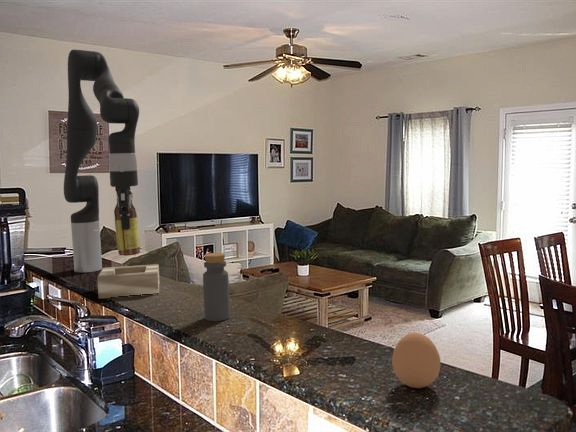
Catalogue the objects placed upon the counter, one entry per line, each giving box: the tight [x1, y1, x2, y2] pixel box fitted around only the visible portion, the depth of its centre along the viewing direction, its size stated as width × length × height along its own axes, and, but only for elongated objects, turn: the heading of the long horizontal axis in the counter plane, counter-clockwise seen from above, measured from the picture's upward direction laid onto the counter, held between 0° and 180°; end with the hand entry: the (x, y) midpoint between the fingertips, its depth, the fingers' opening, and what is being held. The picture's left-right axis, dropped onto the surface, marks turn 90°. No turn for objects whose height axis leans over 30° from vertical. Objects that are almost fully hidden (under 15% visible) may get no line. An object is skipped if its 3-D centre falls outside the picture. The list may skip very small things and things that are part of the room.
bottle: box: [202, 252, 231, 322], centre depth 125 cm, size 6×6×15 cm
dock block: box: [96, 263, 161, 300], centre depth 156 cm, size 14×16×6 cm
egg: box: [391, 332, 441, 389], centre depth 84 cm, size 7×7×8 cm
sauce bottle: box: [113, 186, 141, 257], centre depth 154 cm, size 7×6×20 cm
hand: (126, 228), depth 154 cm, fingers closed on sauce bottle, 6 cm apart
